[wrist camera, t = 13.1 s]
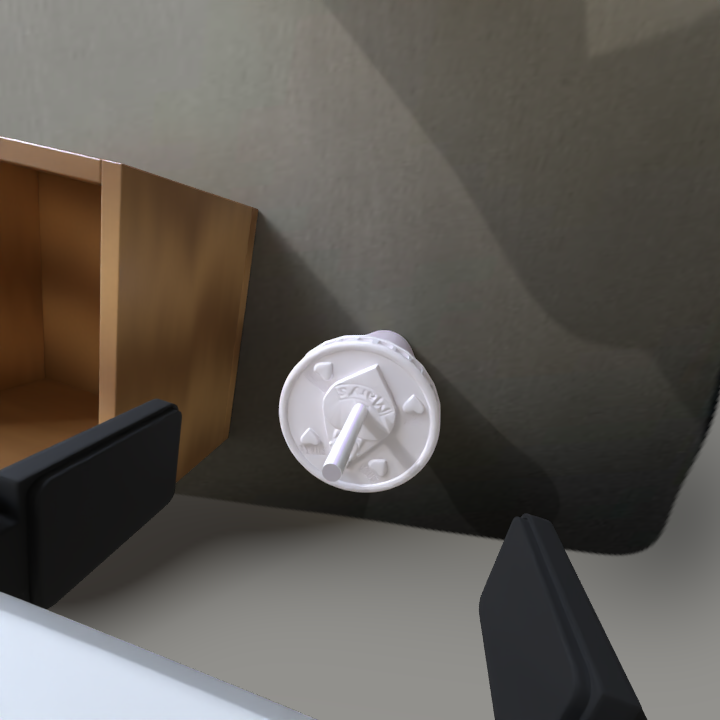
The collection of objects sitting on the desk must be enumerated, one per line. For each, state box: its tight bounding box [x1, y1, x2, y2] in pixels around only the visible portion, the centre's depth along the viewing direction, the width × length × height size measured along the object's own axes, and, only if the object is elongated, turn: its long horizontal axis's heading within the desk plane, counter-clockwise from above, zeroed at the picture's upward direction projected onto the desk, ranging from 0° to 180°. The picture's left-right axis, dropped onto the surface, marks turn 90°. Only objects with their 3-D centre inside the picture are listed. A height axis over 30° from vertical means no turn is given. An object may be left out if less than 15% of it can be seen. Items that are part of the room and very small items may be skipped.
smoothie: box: [279, 330, 440, 492], centre depth 16 cm, size 6×6×14 cm
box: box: [0, 136, 258, 482], centre depth 20 cm, size 16×16×10 cm
